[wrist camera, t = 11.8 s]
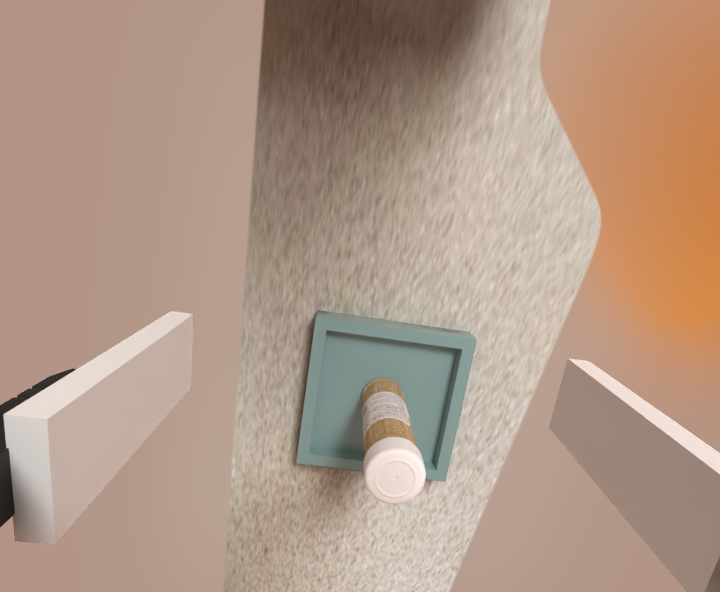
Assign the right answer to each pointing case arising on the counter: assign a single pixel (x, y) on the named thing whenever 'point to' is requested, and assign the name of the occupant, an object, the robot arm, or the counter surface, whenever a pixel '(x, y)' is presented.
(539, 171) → the counter surface
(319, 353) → the tray
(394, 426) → the sprinkles bottle
